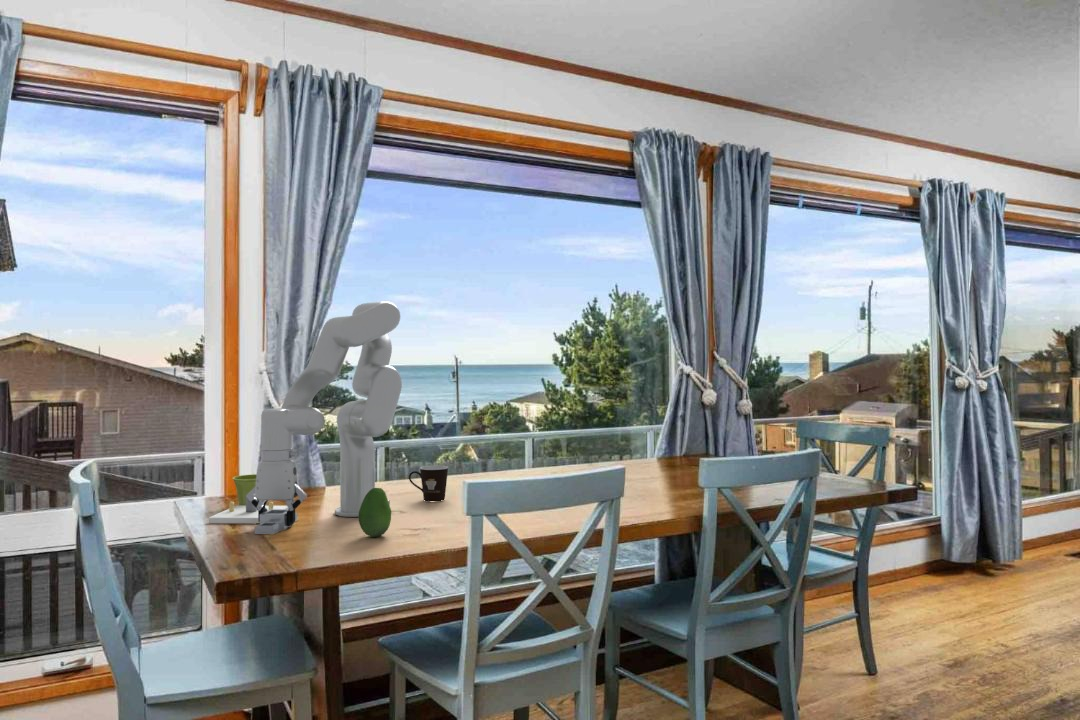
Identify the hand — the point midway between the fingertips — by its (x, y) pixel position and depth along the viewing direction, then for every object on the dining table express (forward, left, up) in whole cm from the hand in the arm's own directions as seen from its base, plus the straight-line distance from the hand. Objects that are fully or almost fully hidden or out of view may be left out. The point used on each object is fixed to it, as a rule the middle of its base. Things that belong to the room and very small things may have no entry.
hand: (276, 524), depth 190 cm
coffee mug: (-33, -38, -1) cm, 50 cm away
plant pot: (+19, -27, -1) cm, 33 cm away
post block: (+12, -12, -1) cm, 17 cm away
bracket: (0, 0, -1) cm, 1 cm away
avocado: (-28, +9, -1) cm, 29 cm away
